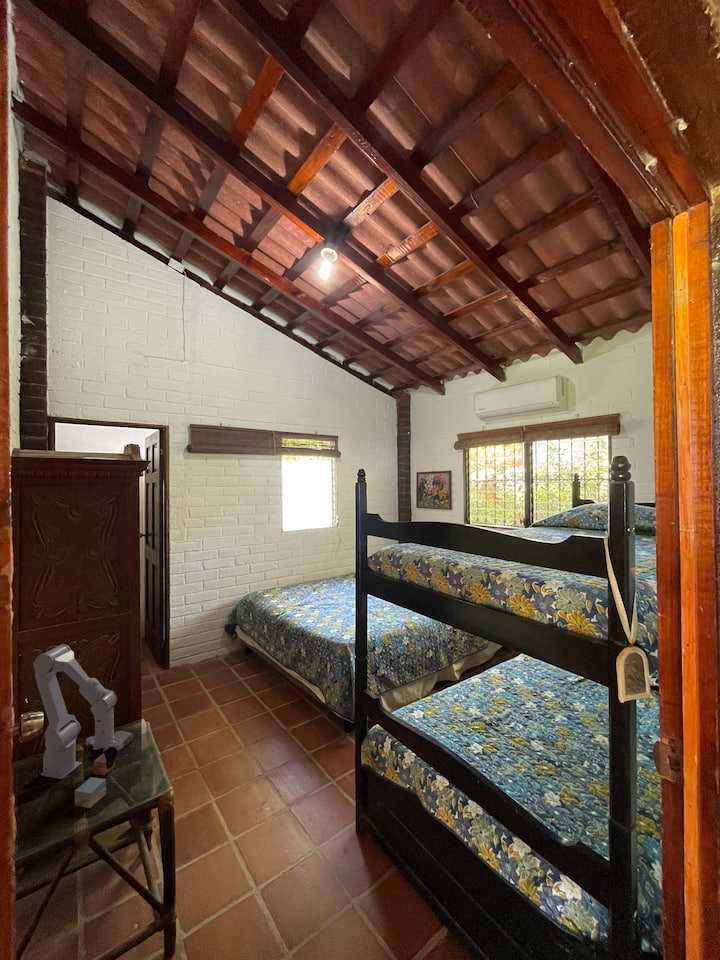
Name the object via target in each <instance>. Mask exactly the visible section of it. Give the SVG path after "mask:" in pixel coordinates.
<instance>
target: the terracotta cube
mask: <svg viewBox="0 0 720 960" xmlns="http://www.w3.org/2000/svg"><path fill="white" fill-rule="evenodd" d="M115 760H116V759H115ZM115 760H114V764H113V766H112V767H111V768H110V769H107V766H106V758H105V755H104V754H102V755H101V756H100V757H98V758H97V759H96V760H95V761H93V775H100V776H105V775H107V774H108V773H109V772H111V771H112V770H113V769H114V768H115V767H116V764H115V763H116V761H115Z"/></svg>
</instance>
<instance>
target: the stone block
mask: <svg viewBox="0 0 720 960" xmlns="http://www.w3.org/2000/svg"><path fill="white" fill-rule="evenodd" d="M114 737H115V738H117V739H118V740H120V741H123V747H122V748H121V749H120V750H118V752H117V754H118V753H119V752H120V751H121V750H123V749H124V748H125V747H126V746H127V745H128V746H129V744H130V743H131V742H132V741H133V739H134V735H133V733H132V732H129V731H123V730H120V731H114ZM107 749H108V747H107V748H104V749H103V752H104V751H106V750H107Z"/></svg>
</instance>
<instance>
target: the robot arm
mask: <svg viewBox="0 0 720 960" xmlns="http://www.w3.org/2000/svg"><path fill="white" fill-rule="evenodd" d="M32 665H33V669H34V671H35V673H34V677H35V681H36V685H37V688H38V691H39V694H40V697H41V700H42V704H43V707H44V711H45V714H46V716H47V719H48V723H49V724H48V726H47V728H46V730H45V732H44V736H45V737H44V738H45V741H44V744H45V745H44V746H45V748H46V749H45V751H44V753H43V757H42V758H43V762H42V763H43V766H42V769H43V772H41V773H40V775H41V776H43V777H49V778H54V779H59V780H61V779H64V778H65V777H66V776H68V775H69V774H71V772H73V771H75V769H78V767H80V766H82V764H83V763H82V762H81V761H76V745H77V744H76V740H77V738H78V737H77V736H78V735H79V734H80V732H81V724H80V723H79V721H78V720H77V718H76V715H74V714H70V713H68V710H67V706H66V704H65V700H64V697H63V694H62V692H61V688H60V685H59V682H58V678H57V675H56V674H57V673H58V672H59V673H60V672H62V673H64V674H66V675H67V676H69V678H70V679H71V680H73V682H75V683H76V684H77V685H78V686H79V689H78V692H79V693H80V694H81V695H82V696H83V697H84V698H85V700H87V702H88V703H89V704H90V705H91V707H90V711H91V713H92V714H93V719H94V736H89V737H88V738H86V739H85V746H89V745H90V747H89V748H88V749H87V753H88V754H89V755H90V756H91V758H92V761H93V762H94V761H95V760H96V759H97V758H98V757H100V756H101V755H102V754H104V755H105V758H106V766H107V769H110V768H111V767H112V766H113V764H114V760H116V756H117V754H118V753H119V752H118V750H120V749H121V748H122V747H123V741H120V740H118V739H117V738H115V737H114V733H115V731H114V730H115V729H114V725H115V723H114V722H115V721H114V720H115V718H114V717H115V716H114V710H115V709H114V706H115V705H116V703H117V701H118V696H117V694H116V692H114V691H113V690H109V689H107V688H105V687H104V686H103V685H102V683H100V681H99V680H98V679H96V677H89V676H88V674H87V673H86V672H85V671H84V669H83V668H82V667H81V665H80V663H79V662H78V661H77V660H76V658H75V651H73V650H72V649H71V647H70V646H69V645H68V644H64V643H62V644H59V645H58V646H56V647H54V648H52V649H49V650H48V651H46V652H44V653H41V654H39V655H37V657H36V659H35V660H34V661H33V664H32ZM107 747H108V749H107V750H106V751H104V752H103V749H104V748H107ZM121 750H122V749H121ZM121 750H120V751H121ZM117 752H118V753H117Z"/></svg>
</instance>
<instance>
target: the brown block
mask: <svg viewBox="0 0 720 960" xmlns="http://www.w3.org/2000/svg"><path fill="white" fill-rule="evenodd" d="M106 795H107V786H106V787H105V788H104V789H103V790H102V791H101V792H100V793H99V794H98V795H97V796H95V797H94V798H93V799H92V800H91V801H88V800H80V799H75V798H74V806H77V807H83V808H87V809H91V808H92V807H93V806H94V805H96V803H98V802H99V801H100V800H101V799H103V797H104V796H106Z"/></svg>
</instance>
